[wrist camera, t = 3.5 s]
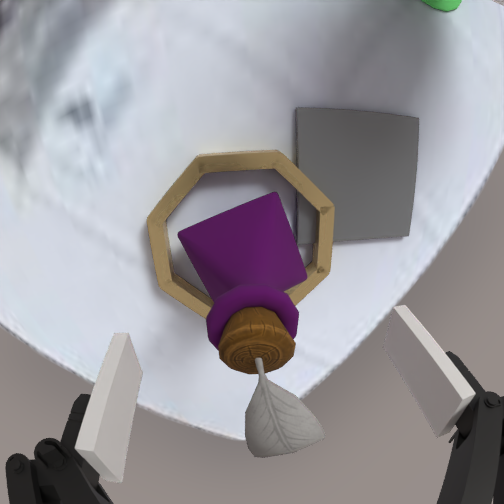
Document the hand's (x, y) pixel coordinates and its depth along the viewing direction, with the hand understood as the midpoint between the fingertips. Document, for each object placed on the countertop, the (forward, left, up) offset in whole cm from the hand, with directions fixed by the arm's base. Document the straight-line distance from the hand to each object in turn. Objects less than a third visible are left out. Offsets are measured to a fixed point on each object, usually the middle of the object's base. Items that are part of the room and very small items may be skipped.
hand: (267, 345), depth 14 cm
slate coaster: (+10, +5, -12) cm, 17 cm away
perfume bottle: (0, 0, -13) cm, 13 cm away
